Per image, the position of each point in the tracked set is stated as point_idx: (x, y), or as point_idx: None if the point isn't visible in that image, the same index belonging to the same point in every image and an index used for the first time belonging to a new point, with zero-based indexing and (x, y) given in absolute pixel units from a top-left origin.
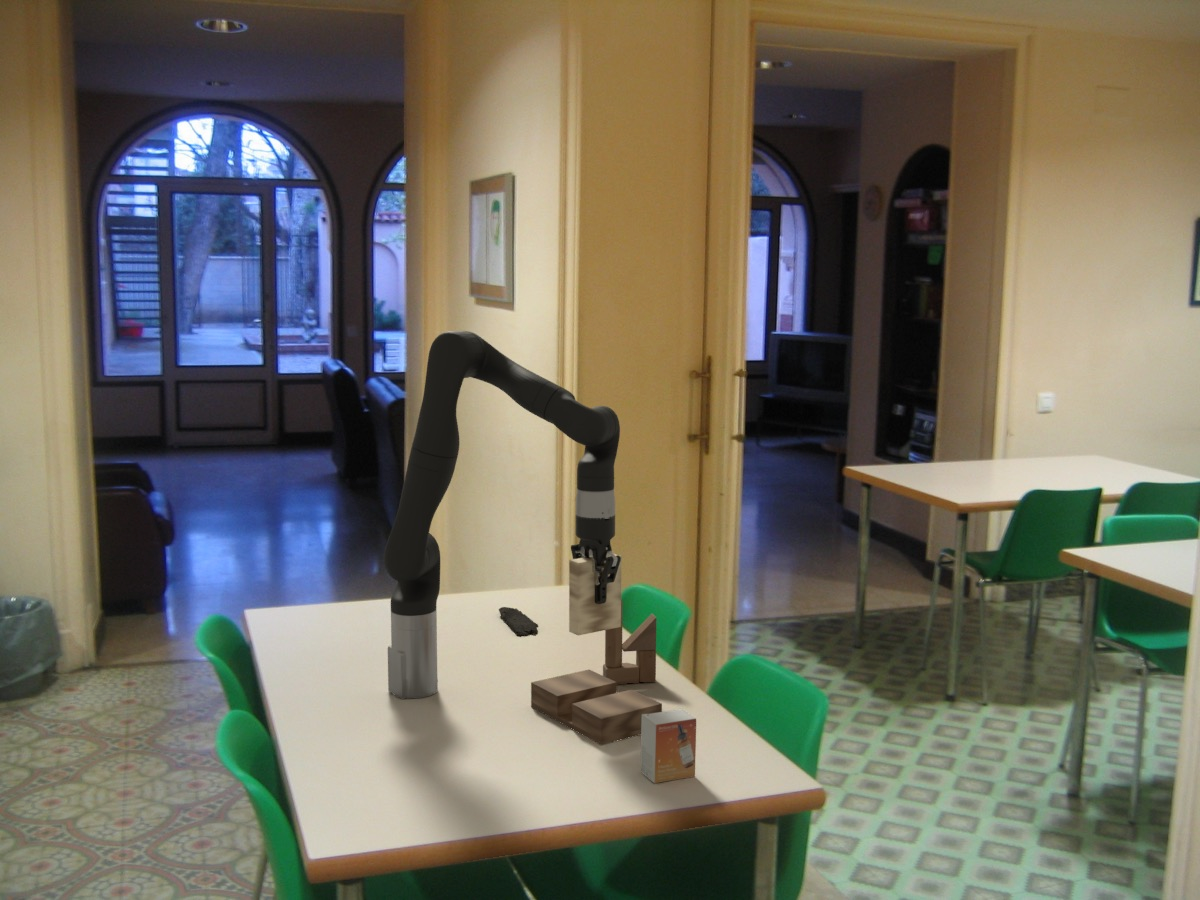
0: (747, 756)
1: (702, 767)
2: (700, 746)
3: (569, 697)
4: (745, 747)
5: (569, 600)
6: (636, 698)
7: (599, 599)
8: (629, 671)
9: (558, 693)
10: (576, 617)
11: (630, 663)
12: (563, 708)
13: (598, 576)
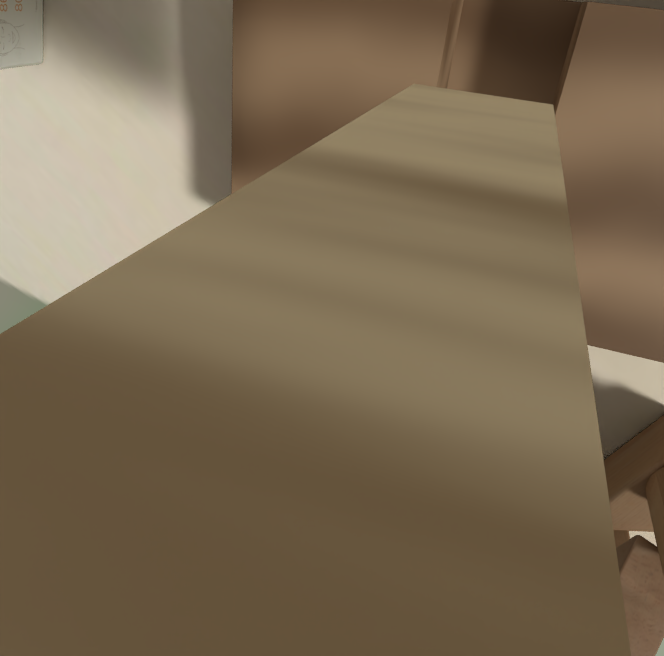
0: (28, 238)
1: (12, 100)
2: (120, 208)
3: (564, 79)
4: (70, 278)
5: (558, 176)
6: None
7: None
8: (611, 486)
9: (609, 33)
10: (407, 109)
11: (639, 529)
12: (572, 39)
13: None
